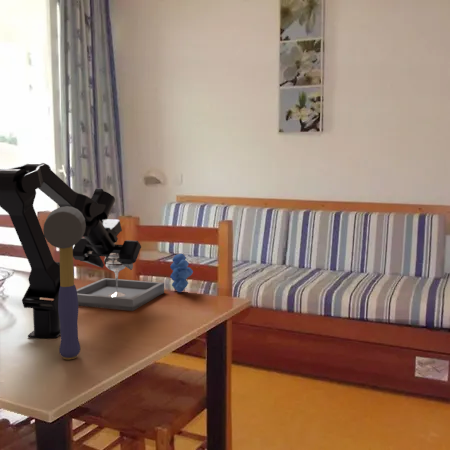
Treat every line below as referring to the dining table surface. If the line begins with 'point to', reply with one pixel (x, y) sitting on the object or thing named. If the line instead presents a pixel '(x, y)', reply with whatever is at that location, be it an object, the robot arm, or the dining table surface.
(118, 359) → the dining table surface
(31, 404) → the dining table surface
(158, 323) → the dining table surface
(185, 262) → the grapes
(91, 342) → the dining table surface
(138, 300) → the tray
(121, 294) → the wineglass
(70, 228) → the rubber mallet
